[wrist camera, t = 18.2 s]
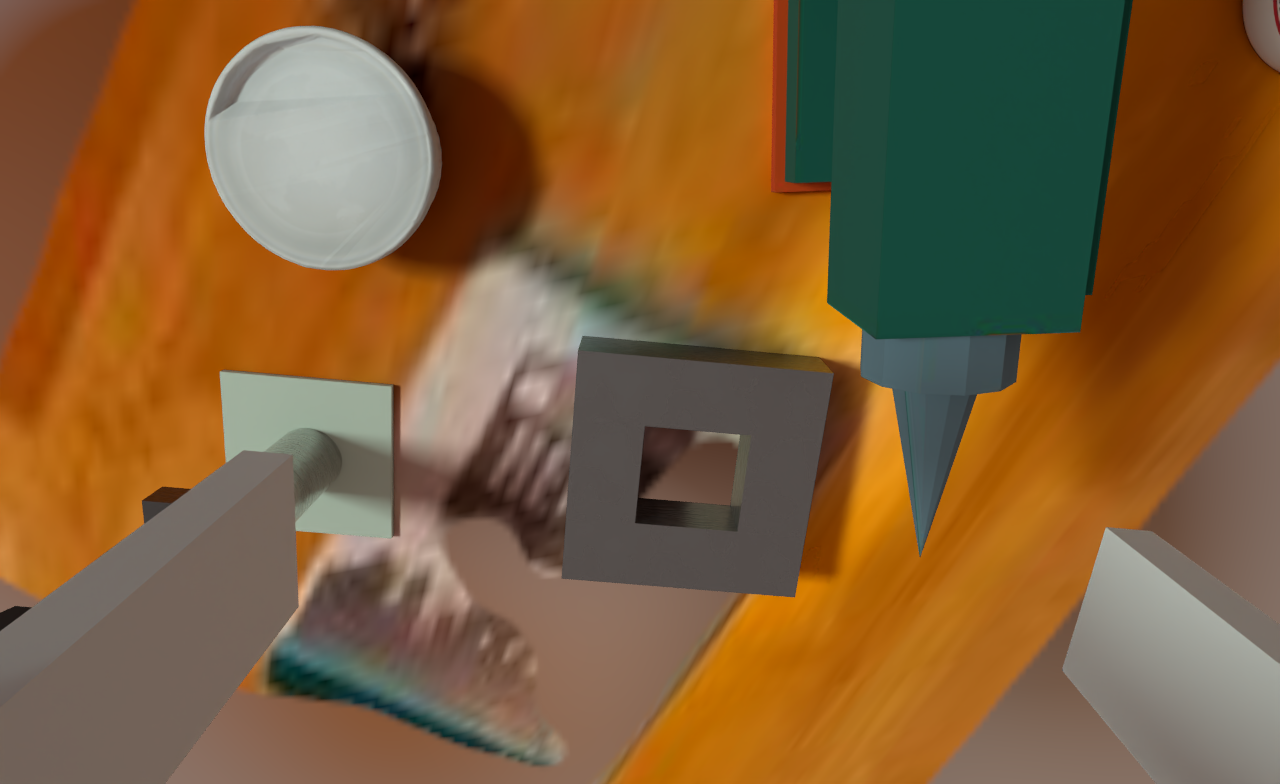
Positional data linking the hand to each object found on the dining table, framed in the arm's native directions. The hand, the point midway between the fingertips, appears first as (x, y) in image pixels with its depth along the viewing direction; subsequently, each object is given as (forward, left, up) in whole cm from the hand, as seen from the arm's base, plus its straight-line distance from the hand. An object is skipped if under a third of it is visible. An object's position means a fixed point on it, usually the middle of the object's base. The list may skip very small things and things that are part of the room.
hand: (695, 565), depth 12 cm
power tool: (-8, +9, -33) cm, 35 cm away
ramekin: (-5, -17, -33) cm, 37 cm away
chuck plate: (+11, +3, -33) cm, 35 cm away
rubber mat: (+13, -20, -33) cm, 40 cm away
